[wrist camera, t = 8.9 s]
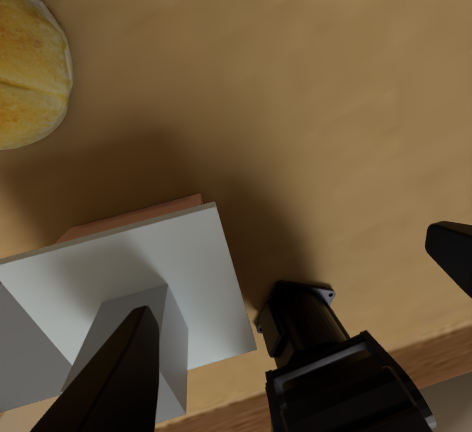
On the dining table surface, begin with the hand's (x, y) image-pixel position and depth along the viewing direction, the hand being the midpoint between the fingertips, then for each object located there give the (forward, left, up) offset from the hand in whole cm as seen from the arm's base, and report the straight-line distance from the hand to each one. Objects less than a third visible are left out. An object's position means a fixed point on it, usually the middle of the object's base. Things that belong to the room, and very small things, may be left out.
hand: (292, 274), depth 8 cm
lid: (+4, +9, -7) cm, 12 cm away
